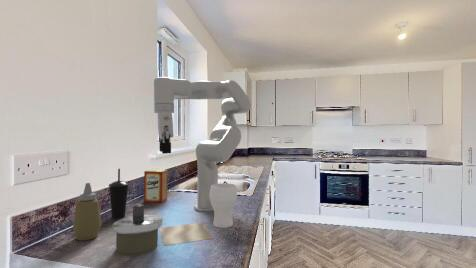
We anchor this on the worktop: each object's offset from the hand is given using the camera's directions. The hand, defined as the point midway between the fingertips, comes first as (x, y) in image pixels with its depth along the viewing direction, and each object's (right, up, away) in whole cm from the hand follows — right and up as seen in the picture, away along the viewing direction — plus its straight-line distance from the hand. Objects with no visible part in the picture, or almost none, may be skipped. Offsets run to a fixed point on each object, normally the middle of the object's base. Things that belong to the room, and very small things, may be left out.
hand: (165, 152), depth 100 cm
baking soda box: (-14, -28, +31) cm, 44 cm away
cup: (+23, -28, -4) cm, 36 cm away
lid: (-1, -21, -24) cm, 31 cm away
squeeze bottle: (-21, -27, -17) cm, 38 cm away
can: (-1, -28, -24) cm, 37 cm away
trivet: (+11, -27, -13) cm, 32 cm away
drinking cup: (-21, -27, +5) cm, 35 cm away
